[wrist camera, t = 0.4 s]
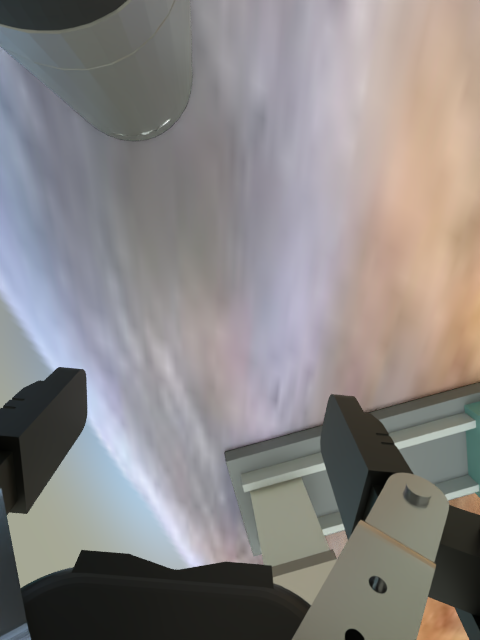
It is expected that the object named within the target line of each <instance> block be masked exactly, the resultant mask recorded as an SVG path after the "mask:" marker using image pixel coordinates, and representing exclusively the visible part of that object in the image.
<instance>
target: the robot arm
mask: <svg viewBox="0 0 480 640" xmlns="http://www.w3.org/2000/svg"><path fill="white" fill-rule="evenodd" d="M0 47H1V48H3V49H4V50H5V51H6V52H7V53H8V54H10V55H11V56H12V57H13V58H14V59H15V60H17V61H18V62H19V63H20V64H21V65H22V66H24V67H25V68H26V69H27V70H28V71H29V72H31V73H32V74H33V75H34V76H35V77H36V78H38V79H39V80H40V81H41V82H42V83H43V84H45V85H46V86H47V87H48V88H49V89H50V90H52V91H53V92H54V93H55V94H56V95H57V96H58V97H60V98H61V99H62V100H63V101H64V102H65V103H67V104H68V105H69V106H70V107H71V108H72V109H74V110H75V111H76V112H77V113H78V114H80V115H81V116H82V117H83V118H84V119H86V120H87V121H88V122H89V123H90V124H91V125H93V126H94V127H95V128H96V129H98V130H100V131H102V132H103V133H105V134H107V135H109V136H112V137H115V138H118V139H121V140H129V141H139V140H147V139H150V138H153V137H156V136H158V135H160V134H162V133H163V132H165V131H166V130H168V129H169V128H171V126H172V125H173V124H174V123H175V122H176V121H177V120H178V119H179V118H180V116H181V114H182V113H183V111H184V109H185V108H186V105H187V102H188V99H189V96H190V93H191V86H192V39H191V9H190V0H0ZM86 418H87V387H86V373H85V371H84V370H83V369H74V368H64V367H59V368H57V369H56V370H55V371H54V372H53V373H52V374H51V375H50V376H49V377H48V378H46V380H44V381H37V382H35V383H33V384H31V385H29V386H27V387H25V388H23V389H22V390H21V391H19V392H18V393H17V394H16V395H15V396H14V397H13V398H12V400H9V401H8V402H7V403H6V404H5V405H4V406H3V408H1V409H0V640H416V639H417V635H418V632H419V628H420V624H421V620H422V617H423V613H424V609H425V605H426V602H427V598H428V597H430V598H433V599H435V600H438V601H440V602H443V603H445V604H448V605H450V606H453V607H455V609H456V612H457V614H458V616H459V618H460V620H461V622H462V625H463V627H464V629H465V631H466V633H467V635H468V637H469V640H480V515H477V514H474V513H471V512H468V511H465V510H462V509H459V508H456V507H453V506H450V505H449V502H448V500H447V498H446V496H445V495H444V494H443V492H442V491H441V490H440V489H439V488H438V487H436V486H435V485H434V484H432V483H431V482H429V481H428V480H426V479H424V478H422V477H420V476H417V475H414V474H413V472H412V471H411V469H410V467H409V466H408V464H407V462H406V461H405V459H404V458H403V456H402V454H401V453H400V451H399V449H398V448H397V446H395V443H394V441H393V440H392V438H391V436H389V433H388V432H387V430H386V428H385V427H384V425H383V424H382V423H381V422H380V421H379V420H378V419H377V418H375V417H374V416H373V415H372V414H371V413H364V412H363V410H362V408H361V406H360V405H359V403H358V401H357V399H356V398H355V397H354V396H344V395H334V394H331V395H330V397H329V400H328V404H327V408H326V413H325V418H324V422H323V427H322V432H321V438H320V448H321V454H322V458H323V461H324V464H325V467H326V470H327V474H328V477H329V480H330V483H331V487H332V490H333V493H334V496H335V499H336V503H337V506H338V509H339V512H340V516H341V519H342V522H343V525H344V528H345V532H346V535H347V538H348V542H347V543H346V545H345V547H344V549H343V550H342V552H341V554H340V556H339V557H338V559H337V561H336V563H335V564H334V566H333V568H332V570H331V571H330V573H329V575H328V577H327V578H326V580H325V582H324V584H323V586H322V587H321V589H320V591H319V593H318V594H317V596H316V598H315V600H314V601H313V603H312V605H310V604H309V603H308V602H306V601H305V600H304V599H303V598H301V597H300V596H298V595H297V594H295V593H294V592H292V591H290V590H288V589H286V588H284V587H282V586H280V585H278V584H275V583H273V574H272V566H271V565H259V564H247V563H234V562H222V563H216V564H210V565H204V566H198V567H192V568H187V569H181V570H174V569H170V568H167V567H164V566H161V565H159V564H156V563H153V562H150V561H147V560H145V559H142V558H139V557H136V556H133V555H131V554H123V553H111V552H99V551H87V550H81V552H80V555H79V557H78V559H77V562H76V564H75V566H74V567H73V568H68V569H65V570H61V571H57V572H54V573H51V574H48V575H46V576H44V577H41V578H39V579H37V580H35V581H33V582H31V583H29V584H27V585H25V586H24V587H22V588H20V584H19V578H18V573H17V568H16V562H15V557H14V552H13V546H12V541H11V536H10V531H9V525H8V520H7V514H8V513H9V512H12V513H23V514H27V513H28V511H29V510H30V508H31V507H32V505H33V504H34V502H35V501H36V499H37V498H38V496H39V495H40V493H41V492H42V490H43V489H44V487H45V486H46V485H47V483H48V481H49V480H50V479H51V477H52V476H53V474H54V473H55V471H56V470H57V468H58V466H59V465H60V464H61V462H62V460H63V459H64V457H65V456H66V455H67V453H68V451H69V450H70V449H71V447H72V445H73V444H74V443H75V441H76V440H77V438H78V437H79V435H80V433H81V432H82V430H83V428H84V426H85V423H86Z"/></svg>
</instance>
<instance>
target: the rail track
mask: <svg viewBox="0 0 480 640" xmlns="http://www.w3.org/2000/svg"><path fill="white" fill-rule="evenodd" d="M370 413H371V414H372V415H373V416H374V417H375V418H377V419H378V420H379V421H380V422H381V423H382V424H383V425H384V427H385V428H386V430H387V432H388V433H389V436H391V438H392V440H393V441H394V443H395V446H397V448H398V449H399V451H400V453H401V454H402V456H403V458H404V459H405V461H406V462H407V464H408V466H409V467H410V469H411V471H412V472H413V474H414V475H417V476H420V477H422V478H424V479H426V480H428V481H429V482H431V483H432V484H434V485H435V486H436V487H438V488H439V489H440V490H441V491H442V492H443V494H444V495H445V496H446V498H447V500H448V501H449V500H452V499H455V498H459V497H462V496H466V495H469V494H473V493H476V494H477V495H478V496H479V497H480V382H479V383H476V384H472V385H468V386H465V387H461V388H457V389H454V390H450V391H446V392H443V393H439V394H435V395H432V396H428V397H424V398H421V399H417V400H413V401H410V402H406V403H403V404H399V405H395V406H392V407H388V408H384V409H381V410H377V411H373V412H370ZM322 427H323V425H322V426H319V427H315V428H311V429H308V430H304V431H300V432H297V433H293V434H289V435H286V436H282V437H278V438H275V439H271V440H267V441H264V442H260V443H256V444H253V445H249V446H246V447H242V448H238V449H235V450H231V451H227V452H225V458H226V464H227V467H228V471H229V474H230V477H231V481H232V484H233V488H234V491H235V495H236V498H237V501H238V505H239V508H240V512H241V515H242V518H243V522H244V525H245V529H246V532H247V535H248V539H249V542H250V546H251V549H252V552H253V556H257V555H260V554H262V552H261V547H260V542H259V536H258V531H257V526H256V521H255V515H254V510H253V505H252V500H251V494H250V491H251V490H255V489H258V488H262V487H266V486H269V485H273V484H276V483H280V482H283V481H287V480H291V479H294V478H298V477H301V478H302V481H303V483H304V486H305V488H306V491H307V493H308V496H309V498H310V501H311V504H312V506H313V509H314V511H315V514H316V516H317V519H318V521H319V524H320V526H321V529H322V531H323V534H324V536H326V535H330V534H333V533H337V532H340V531H344V530H345V528H344V525H343V522H342V519H341V516H340V512H339V509H338V506H337V503H336V499H335V496H334V493H333V490H332V487H331V483H330V480H329V477H328V474H327V470H326V467H325V464H324V461H323V458H322V454H321V448H320V438H321V432H322Z"/></svg>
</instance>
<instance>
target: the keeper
mask: <svg viewBox="0 0 480 640" xmlns="http://www.w3.org/2000/svg"><path fill="white" fill-rule="evenodd" d="M250 494H251V500H252V505H253V510H254V515H255V521H256V526H257V531H258V536H259V542H260V547H261V552H262V557H263V563H264V565H271V566H272V574H273V583H275V584H278V585H280V586H282V587H284V588H286V589H288V590H290V591H292V592H294V593H295V594H297V595H298V596H300V597H301V598H303V599H304V600H305V601H306V602H308V603H309V604H310V605H312V603H313V601H314V600H315V598H316V596H317V594H318V593H319V591H320V589H321V587H322V586H323V584H324V582H325V580H326V578H327V577H328V575H329V573H330V571H331V570H332V568H333V566H334V564H335V563H336V561H337V558H336V556H335V553H334V551H333V549H332V550H330V549H329V546H328V544H327V541H326V539H325V536H324V534H323V531H322V529H321V526H320V524H319V521H318V519H317V516H316V514H315V511H314V509H313V506H312V504H311V501H310V498H309V496H308V493H307V491H306V488H305V486H304V483H303V481H302V478H301V477H298V478H294V479H291V480H287V481H283V482H280V483H276V484H273V485H269V486H266V487H262V488H258V489H255V490H251V491H250Z"/></svg>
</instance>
